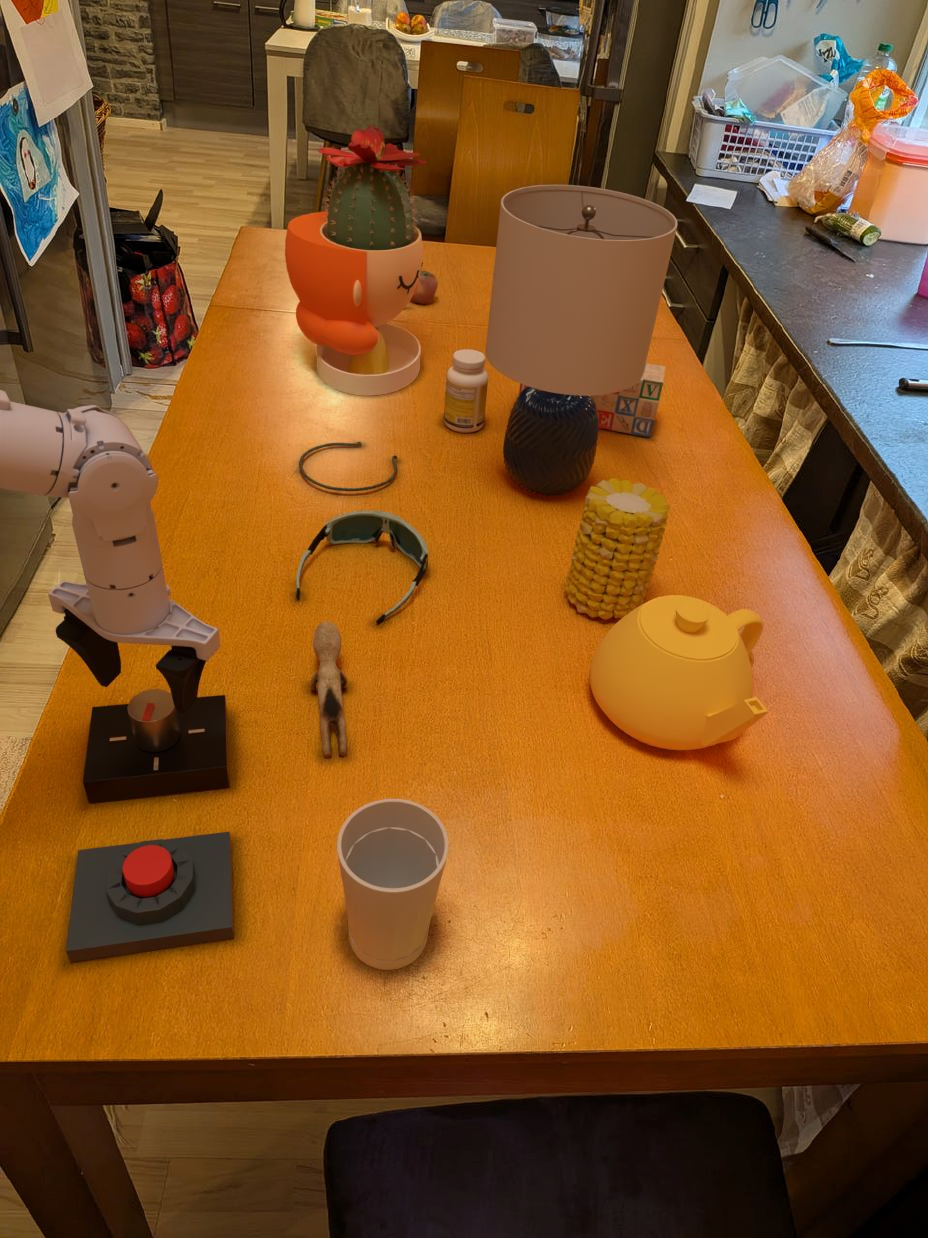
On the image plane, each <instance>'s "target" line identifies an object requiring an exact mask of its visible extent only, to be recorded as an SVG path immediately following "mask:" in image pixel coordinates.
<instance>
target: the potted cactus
mask: <svg viewBox="0 0 928 1238" xmlns="http://www.w3.org/2000/svg"><path fill="white" fill-rule="evenodd" d="M350 140H351V141H350V142H349V143H348V145H347V149H348V151H345V150H342V149H339V148H335V147H327V146H324V147H319V148H318V153H320V154H323V155H325V158H326V159H325V160H326V162H329V163H330V164H332V165H334V166H335V167H337V168H340V170H339V169H337V171H336V175H334V178H335V179H336V181H334V179H332V178H331V179H332V180H330V183H331V185H328V191H329V193H327V195H326V197H327V196H328V197H330V198H325V199H324V202H323V204H324V209H323V211H318V212H317V211H315V212H310V213H306V214H302V215H298V216H297V217H294V218H292V219H291V220H290V221H289V222H288V223H287V224H288V225H287V229H286V234H285V241H284V259H285V264H286V265H285V267H286V271H287V275H288V279H289V282H290V285H291V287H292V289H293V291H294V294H295V295H296V296H297V298H298V301H299V302H298V303H297V304H296V308H295V319H296V323H297V326H298V328H299V330H300V331H301V333H302V334H303V335H304V336H305V338H306V339H308V340H309V341H310V342H311V343H312V344H315V345H316V348H315V349H316V372H317V375H318V377H319V379H320V380H321V381H322V382H323V383H325V385H327V386H329V387H330V388H332V389H334V390H336V391H338V392H341V393H344V394H348V395H354V396H355V395H356V396H365V397H366V396H369V397H370V396H381V395H388V394H391V393H394V392H397V391H399V390H402V389H404V388H406V387H408V386H409V385H411V384H412V383H413V382H414V381H415V380H416V379H417V378H418V375H419V374H420V371H421V370H420V369H421V351H422V346H421V343H420V341H419V339H418V338H417V337H416V335H414V334H413V333H412V331H411V332H410V331H409V330H408V329H406V328H404V327H402V326H400V325H399V326H398V325H396V324H393V323H389V322H391V321H393V320H394V319H396V318H397V317H398V316H399V315H400V314H401V313H402V312H403V311H405V310H406V309H407V306H408V305H409V303H410V301H412V300H411V298H412V296H413V294H414V295H415V294H417V292H418V290H419V286H420V282H419V278H420V273H421V271H422V267H423V264H424V262H423V259H424V258H423V256H424V254H423V253H424V249H423V247H424V246H423V237H422V232H421V230H420V228H418V223H419V220H418V219H417V217H416V218H413V216H418V215H419V214H417V211H418V210H417V209H418V208H412V207H415V204H416V201H415V198H411V199H410V197H415V196H416V195H415V192H414V191H412V189H411V187H410V182H407V183H406V173H403V172H402V173H403V174H402V175H400V171H405V170H406V168H404V167H411V166H412V167H413V166H414V167H415V166H423V165H426V164H427V161H424V160H422V159H420V158H419V159H417V157H419V156H420V155H421V154H420V153H419V152H407V151H405V150H402V149H398V148H397V146H396V145H395V144H392V143H387V144H385V136H384V134H383V132H382V131H381V130H380V129H379V128H377V127H375V126H373V125H370V126H368V127H366V128H365V129H357V130H355V131H354V132H353V133H352V134H351V139H350ZM349 151H350V152H349ZM340 172H341V173H340ZM405 183H406V184H405ZM410 189H411V190H410ZM410 191H412V192H410ZM409 192H410V193H409ZM327 202H328V203H327ZM415 223H417V224H415Z"/></svg>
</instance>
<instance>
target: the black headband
mask: <svg viewBox="0 0 928 1238" xmlns="http://www.w3.org/2000/svg"><path fill="white" fill-rule="evenodd" d="M335 446H341V447H342V446H343V447H344V446H345V447H360V446H362V442H361V441H357V442H355V443H354V442H353V443H352V442H329V443H324V444H320V445H316V446H314V447H312V448H310V449H307V450H306V451H304V453H303V454H302V455H301V456H300V458H299V460H298V468H299V470H300V473H301V474H302V476H303V477H304V478H305V479H306V480H308V481H309V482H310V483H312V484H314V485H316V486H317V487H320V488H324V489H326V490H331V491H337V492H362V491H369V490H373V489H374V490H375V489H377V488H380V487H383V486H385V485H386V486H387V485H388V484H390V483H392V481H394V479H395V477H396V476H397V473H398V465H397V461H396V460H398V456H397V455H395V454H394V455H392V457H391V461H392V464H393V467H394V470H393V473H392V475H391V476H390V477H389V478H388V479H387V480H385V481H383V482H380V483H376V484H374V485H373V484H372V485H369V486H364V487H337V486H331V485H327V484H324V483H321V482H320V481H319V482H318V481H316V480H314V479H313V478H311V477H310V476H309V475H308V474H307V473H306V472H305V470H304V466H303V461H304V460H305V458H306V457H307V456H308V455H310V453H312V452H314V451H318V450H319V449H323V448H326V447H335Z"/></svg>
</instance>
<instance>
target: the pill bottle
mask: <svg viewBox="0 0 928 1238" xmlns="http://www.w3.org/2000/svg"><path fill="white" fill-rule="evenodd" d="M485 366H486V355H485V354H484V353H483V352H481V351H479V350H476V349H471V348H470V349H469V348H467V349H459V350H456V351H455V352H453V354H452V365H451V366H450V367H449V368H448V369H447V372H446V379H445V393H444V408H443V409H444V410H443V423H444V425H445V426H446V427H447V428H448V429H450V430H452V431H454V432H457V433H463V434H464V433H466V434H468V433H475V432H478V431H480V430H481V429H482V428H483V427H484V424H485V417H486V416H485V415H486V405H487V394H488V383H489V375H488V374H489V373H488V372H487V371H486V369H485Z"/></svg>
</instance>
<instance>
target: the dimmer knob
mask: <svg viewBox="0 0 928 1238" xmlns="http://www.w3.org/2000/svg"><path fill="white" fill-rule="evenodd" d="M127 704H128V714H129V718H130V723H131V727H132V731H133V736H134V740H135V743H136V745H137V746H138V747H139V748H141V749H142V750H144V751H148V752H159V751H163V750H166V749H168V748H170V747H172V746H173V745H174V744H175V743H176V742H177V741H178V739H179V737H180V734H181V731H180V725H179V720H178V714H177V710H176V708H175V706H174V703H173V699H172V694H171V692H169V691H167V690H164V689H159V688H152V689H147V690H143V691H140V692H138V693H137V694H135V695H134V696H133V697H132V698H131V699H130V701H129V702H128V703H127Z"/></svg>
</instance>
